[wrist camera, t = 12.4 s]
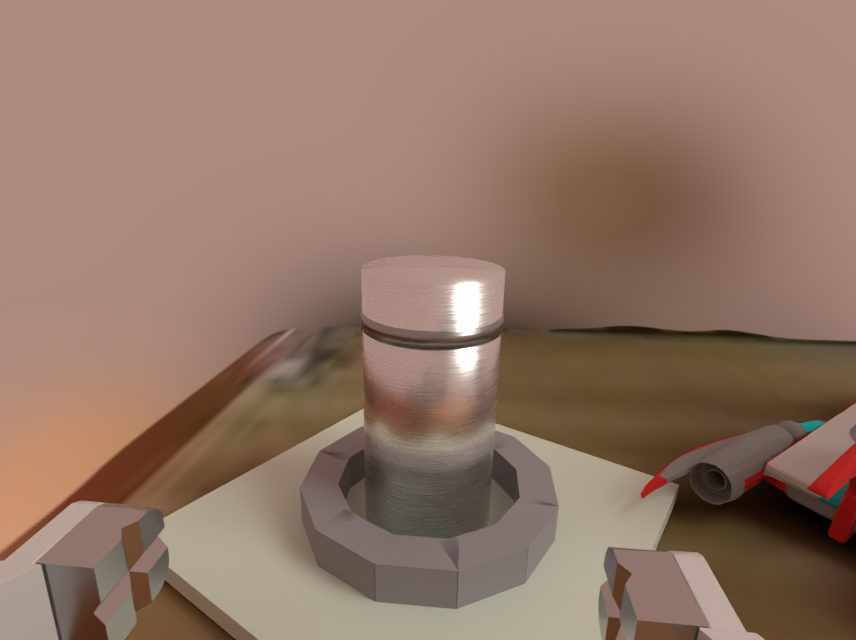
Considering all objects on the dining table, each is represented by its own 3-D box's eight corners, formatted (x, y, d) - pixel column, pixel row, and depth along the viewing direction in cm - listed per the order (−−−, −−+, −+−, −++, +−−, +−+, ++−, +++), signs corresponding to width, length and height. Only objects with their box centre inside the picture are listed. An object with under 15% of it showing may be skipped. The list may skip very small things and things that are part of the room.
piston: (414, 461, 25) (417, 250, 22) (512, 502, 22) (531, 266, 19) (337, 519, 21) (328, 269, 18) (445, 577, 18) (456, 293, 15)
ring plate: (396, 402, 32) (397, 367, 32) (676, 500, 24) (684, 455, 23) (133, 553, 20) (123, 502, 19) (520, 877, 11) (528, 804, 11)
